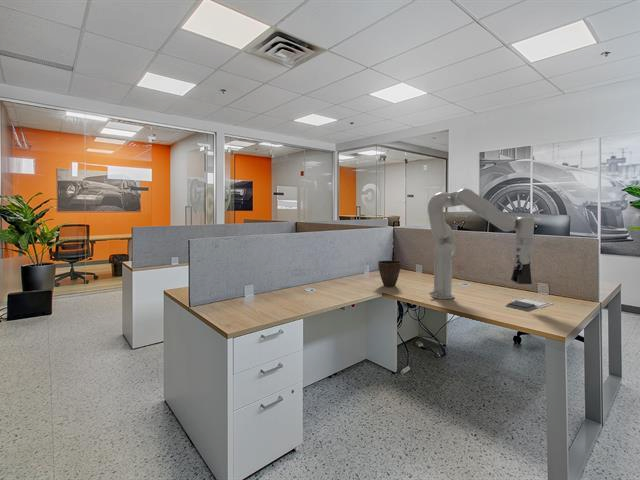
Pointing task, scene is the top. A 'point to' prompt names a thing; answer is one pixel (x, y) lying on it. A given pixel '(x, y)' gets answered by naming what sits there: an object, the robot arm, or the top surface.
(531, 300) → the print sheet
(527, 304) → the ink pad
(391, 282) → the plant pot
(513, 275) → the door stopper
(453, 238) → the robot arm
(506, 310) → the top surface
